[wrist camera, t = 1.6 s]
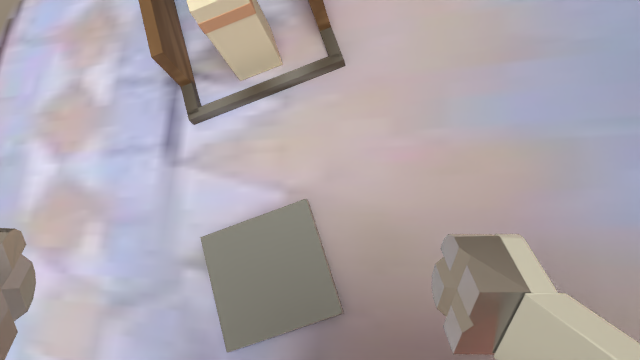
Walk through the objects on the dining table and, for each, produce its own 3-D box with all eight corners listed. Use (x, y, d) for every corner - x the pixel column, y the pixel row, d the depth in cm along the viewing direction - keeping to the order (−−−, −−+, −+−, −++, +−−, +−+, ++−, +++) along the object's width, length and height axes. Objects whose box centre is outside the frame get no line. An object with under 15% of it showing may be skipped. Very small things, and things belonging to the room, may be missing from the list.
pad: (308, 200, 39) (306, 198, 39) (343, 313, 36) (342, 312, 36) (203, 238, 40) (200, 237, 40) (229, 352, 37) (226, 352, 36)
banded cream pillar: (271, 27, 45) (230, -54, 35) (283, 64, 43) (244, -10, 34) (229, 44, 45) (177, -32, 36) (239, 81, 44) (189, 12, 34)
